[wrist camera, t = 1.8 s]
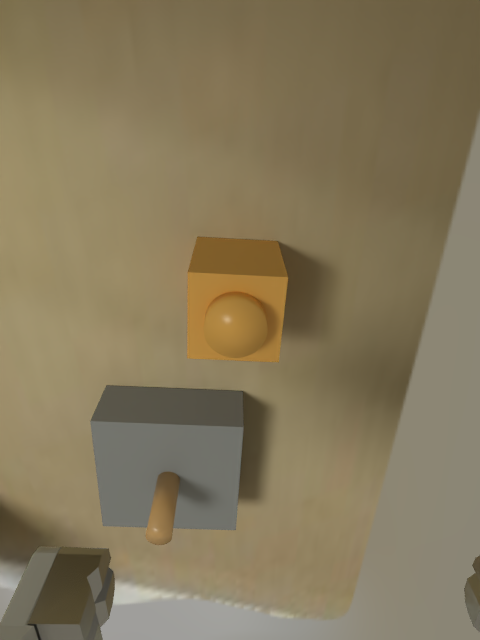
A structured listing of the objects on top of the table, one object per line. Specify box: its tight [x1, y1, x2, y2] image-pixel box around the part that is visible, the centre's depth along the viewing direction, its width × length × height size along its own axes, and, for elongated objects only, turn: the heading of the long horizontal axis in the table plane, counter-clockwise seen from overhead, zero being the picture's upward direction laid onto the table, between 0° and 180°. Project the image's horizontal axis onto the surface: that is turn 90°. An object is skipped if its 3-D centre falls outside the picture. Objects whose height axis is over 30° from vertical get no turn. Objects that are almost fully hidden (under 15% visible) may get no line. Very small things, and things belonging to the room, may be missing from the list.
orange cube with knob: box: [187, 237, 288, 362], centre depth 25 cm, size 5×5×7 cm
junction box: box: [90, 385, 244, 545], centre depth 31 cm, size 10×10×8 cm
